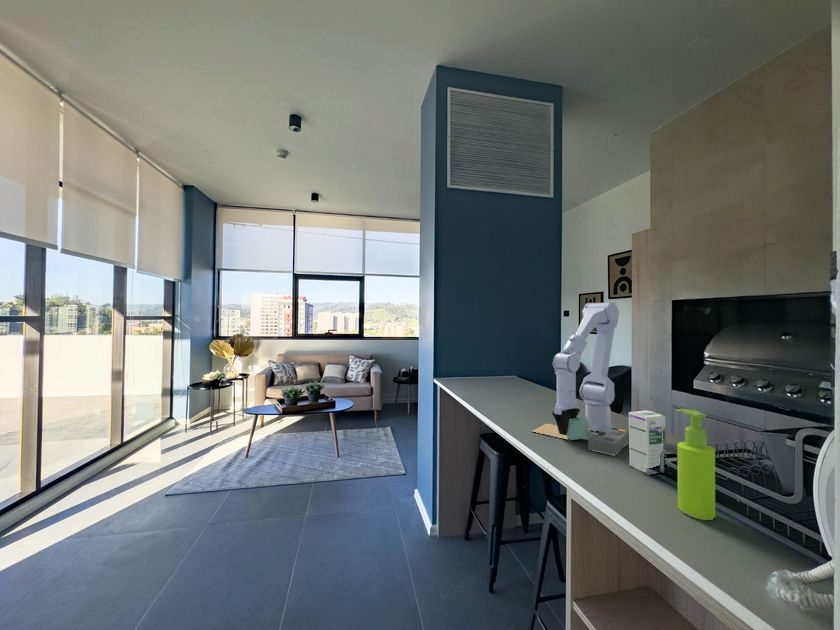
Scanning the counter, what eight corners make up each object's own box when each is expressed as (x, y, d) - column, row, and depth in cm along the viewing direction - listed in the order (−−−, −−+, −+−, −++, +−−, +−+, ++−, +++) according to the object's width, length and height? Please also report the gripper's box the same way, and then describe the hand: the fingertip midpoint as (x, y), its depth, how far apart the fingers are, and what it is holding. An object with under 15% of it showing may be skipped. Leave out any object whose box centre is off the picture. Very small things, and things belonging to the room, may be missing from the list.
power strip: (602, 438, 114) (602, 425, 114) (627, 443, 109) (627, 430, 109) (588, 450, 104) (588, 436, 104) (614, 456, 99) (614, 442, 99)
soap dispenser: (694, 502, 75) (693, 406, 75) (723, 521, 68) (722, 415, 68) (666, 502, 74) (666, 407, 75) (693, 521, 67) (692, 416, 68)
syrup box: (648, 476, 87) (648, 416, 87) (628, 466, 92) (628, 410, 92) (666, 473, 88) (666, 415, 88) (645, 464, 94) (645, 409, 94)
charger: (574, 436, 116) (568, 419, 117) (600, 433, 110) (593, 415, 112) (568, 440, 112) (562, 422, 113) (595, 437, 107) (588, 418, 108)
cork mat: (546, 424, 129) (546, 423, 129) (580, 431, 121) (580, 430, 121) (531, 432, 120) (531, 431, 120) (567, 440, 112) (567, 439, 112)
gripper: (570, 395, 107) (570, 440, 107) (586, 388, 118) (586, 429, 118) (547, 392, 112) (547, 435, 112) (565, 385, 122) (565, 425, 122)
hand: (566, 432), depth 115 cm, fingers closed on charger, 5 cm apart
